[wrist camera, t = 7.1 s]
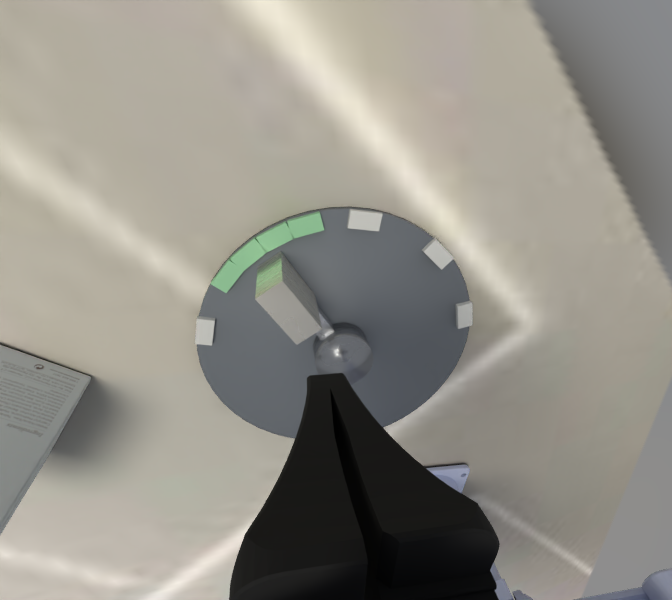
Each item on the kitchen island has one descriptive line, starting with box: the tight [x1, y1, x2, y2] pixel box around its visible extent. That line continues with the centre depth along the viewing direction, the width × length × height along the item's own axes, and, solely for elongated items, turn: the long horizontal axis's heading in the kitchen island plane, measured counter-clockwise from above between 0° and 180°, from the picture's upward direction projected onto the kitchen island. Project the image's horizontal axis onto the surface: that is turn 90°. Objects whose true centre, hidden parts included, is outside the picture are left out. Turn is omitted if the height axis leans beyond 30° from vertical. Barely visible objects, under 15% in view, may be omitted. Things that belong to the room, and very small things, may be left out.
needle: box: [255, 251, 373, 384], centre depth 21 cm, size 9×4×4 cm, turn 32°
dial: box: [195, 207, 473, 438], centre depth 25 cm, size 18×18×1 cm
